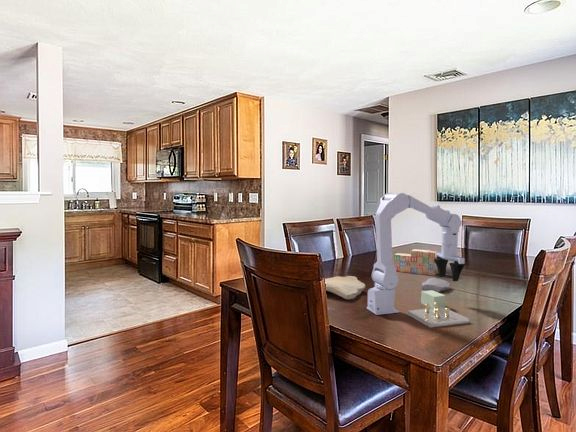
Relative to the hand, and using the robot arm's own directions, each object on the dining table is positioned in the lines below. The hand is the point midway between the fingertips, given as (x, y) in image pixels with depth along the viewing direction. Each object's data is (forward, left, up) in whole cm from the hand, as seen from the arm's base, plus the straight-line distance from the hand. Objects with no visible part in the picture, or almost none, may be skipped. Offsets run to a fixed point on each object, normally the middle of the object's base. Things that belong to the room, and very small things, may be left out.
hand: (448, 278), depth 146 cm
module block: (-7, 0, -10) cm, 12 cm away
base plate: (-15, -13, -10) cm, 22 cm away
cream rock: (-36, +29, -11) cm, 47 cm away
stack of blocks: (+21, +53, -10) cm, 58 cm away
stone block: (+10, +20, -11) cm, 25 cm away
